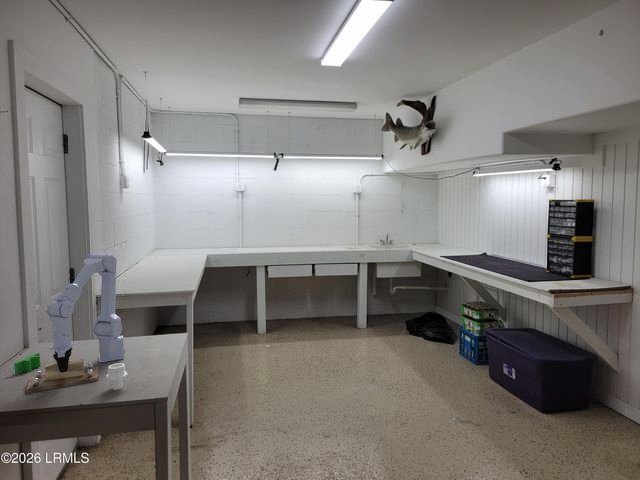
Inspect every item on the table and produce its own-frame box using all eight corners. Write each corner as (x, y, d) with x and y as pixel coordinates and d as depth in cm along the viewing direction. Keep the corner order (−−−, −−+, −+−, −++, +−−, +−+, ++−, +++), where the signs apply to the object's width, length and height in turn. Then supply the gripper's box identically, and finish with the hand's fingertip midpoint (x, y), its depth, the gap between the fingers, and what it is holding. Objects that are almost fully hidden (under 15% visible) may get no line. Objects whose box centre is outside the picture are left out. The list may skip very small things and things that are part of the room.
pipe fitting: (124, 391, 149) (123, 368, 148) (103, 392, 149) (101, 369, 148) (131, 383, 155) (130, 361, 155) (110, 384, 155) (109, 362, 154)
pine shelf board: (46, 378, 157) (45, 364, 157) (84, 372, 163) (83, 359, 162) (45, 381, 155) (44, 367, 154) (84, 375, 160) (83, 361, 160)
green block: (24, 375, 164) (23, 363, 164) (15, 375, 165) (14, 363, 164) (46, 364, 175) (45, 352, 175) (37, 363, 176) (36, 352, 175)
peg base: (98, 369, 169) (98, 359, 169) (98, 380, 158) (97, 370, 158) (31, 380, 159) (30, 370, 159) (26, 392, 148) (25, 382, 148)
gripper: (50, 330, 162) (53, 365, 163) (46, 341, 149) (49, 379, 150) (72, 327, 165) (74, 362, 166) (70, 338, 152) (72, 375, 153)
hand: (64, 370), depth 158 cm, fingers closed on pine shelf board, 3 cm apart
